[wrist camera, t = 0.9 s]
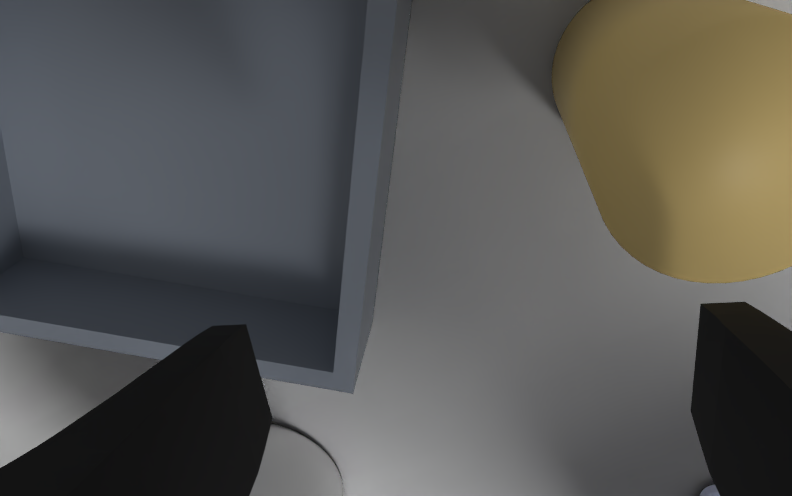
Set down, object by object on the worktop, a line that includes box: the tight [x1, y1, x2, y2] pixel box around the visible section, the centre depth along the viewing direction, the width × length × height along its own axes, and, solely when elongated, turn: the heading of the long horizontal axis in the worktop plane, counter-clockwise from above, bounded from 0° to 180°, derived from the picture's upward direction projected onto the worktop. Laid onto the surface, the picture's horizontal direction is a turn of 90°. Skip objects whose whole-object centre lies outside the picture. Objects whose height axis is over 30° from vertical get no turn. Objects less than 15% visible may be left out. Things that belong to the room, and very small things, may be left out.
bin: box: [0, 0, 412, 393], centre depth 17 cm, size 12×12×4 cm
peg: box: [552, 0, 792, 283], centre depth 13 cm, size 4×4×7 cm
